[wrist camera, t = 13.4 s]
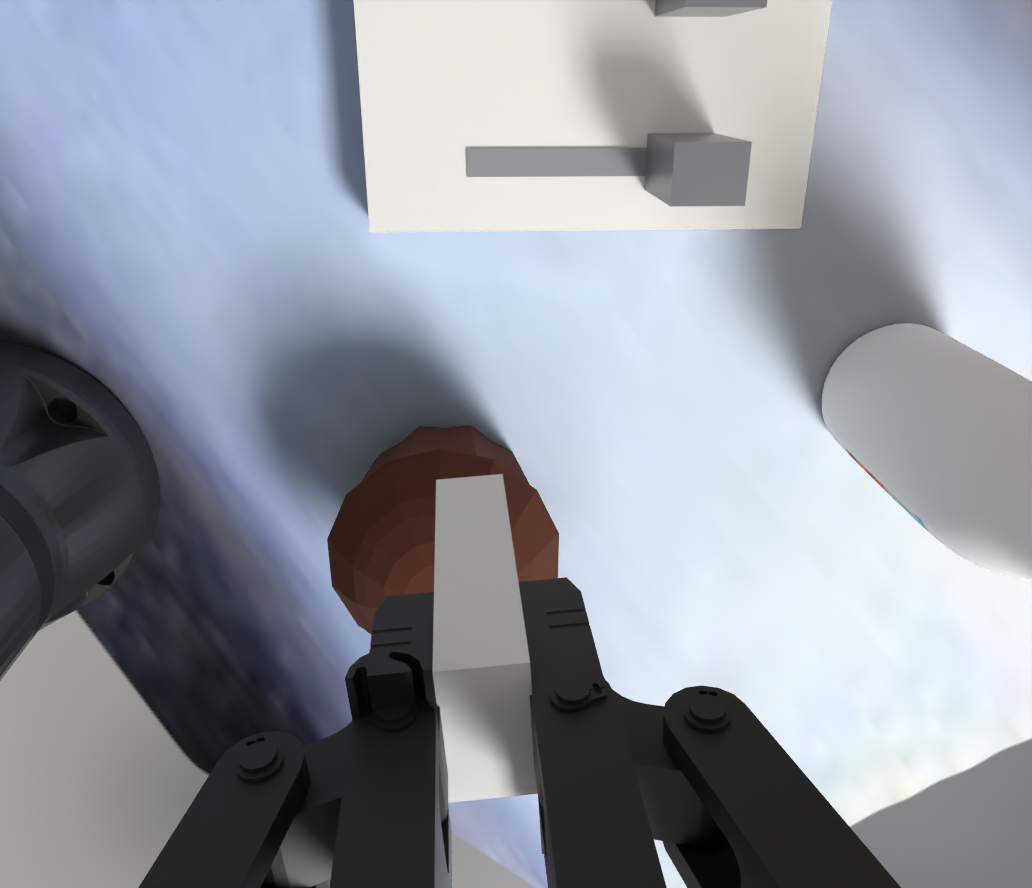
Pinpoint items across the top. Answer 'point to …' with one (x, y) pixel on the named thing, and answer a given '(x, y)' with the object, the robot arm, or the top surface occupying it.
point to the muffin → (426, 518)
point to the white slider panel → (588, 113)
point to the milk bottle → (941, 438)
